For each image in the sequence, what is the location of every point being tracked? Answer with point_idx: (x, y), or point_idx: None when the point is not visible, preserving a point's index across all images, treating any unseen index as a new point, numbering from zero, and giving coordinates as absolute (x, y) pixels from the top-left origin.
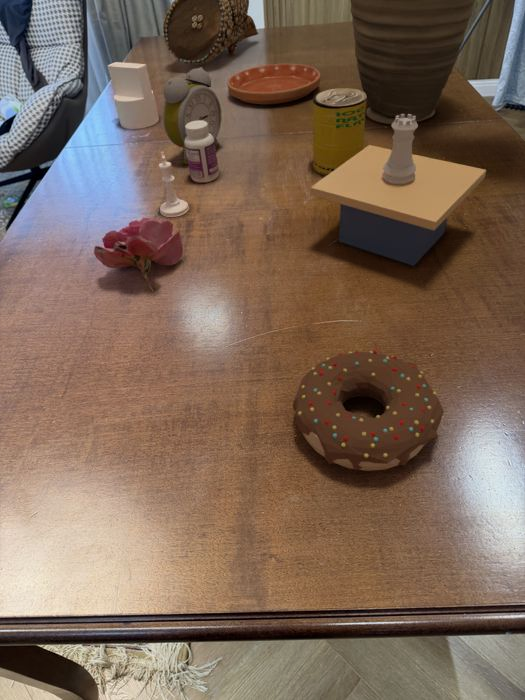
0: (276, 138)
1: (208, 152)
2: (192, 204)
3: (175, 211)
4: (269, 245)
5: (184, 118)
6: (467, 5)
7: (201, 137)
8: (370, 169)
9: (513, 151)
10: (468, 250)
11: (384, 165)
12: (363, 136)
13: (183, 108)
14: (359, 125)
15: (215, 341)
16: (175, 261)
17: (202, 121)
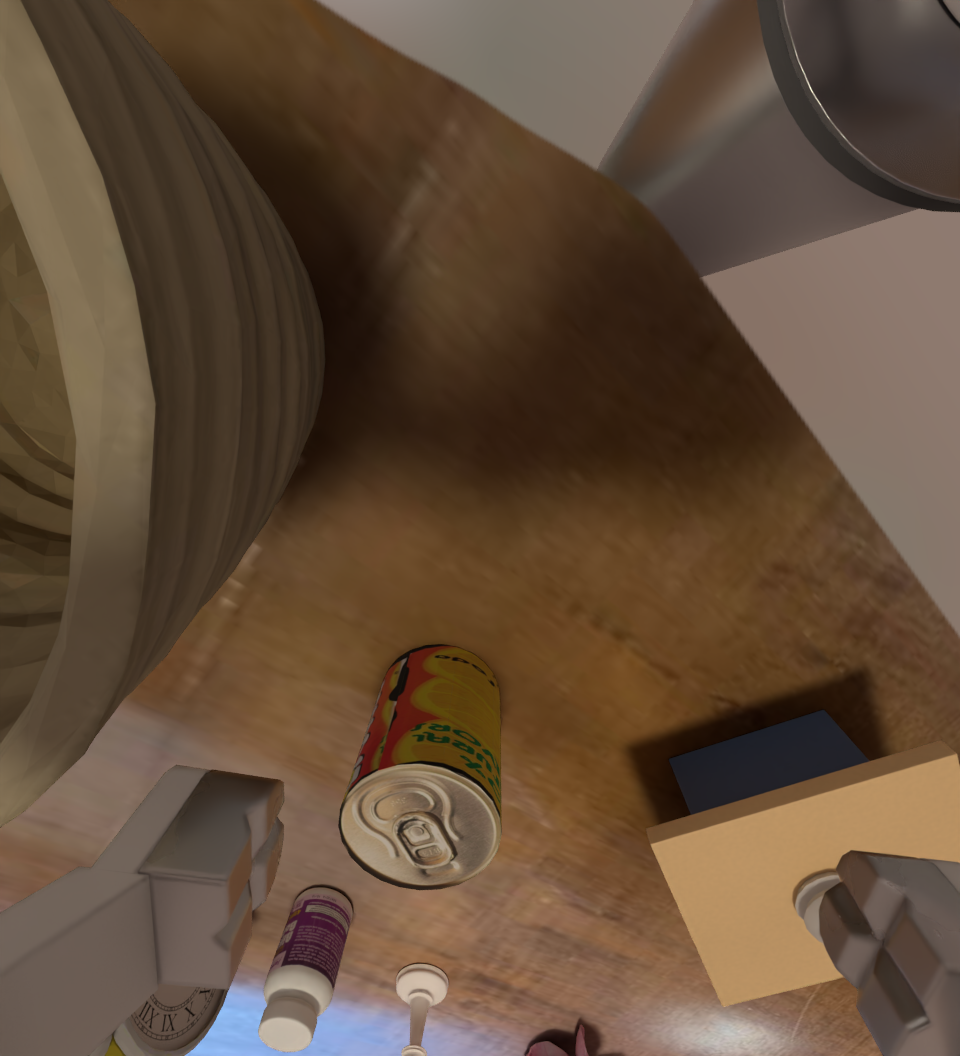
0: (204, 720)
1: (335, 969)
2: (420, 955)
3: (444, 995)
4: (632, 924)
5: (198, 1015)
6: (223, 196)
7: (315, 1009)
8: (752, 906)
9: (680, 281)
10: (894, 714)
11: (817, 939)
12: (483, 712)
13: (192, 1047)
14: (498, 763)
15: (774, 1045)
16: (583, 1030)
17: (274, 1023)
